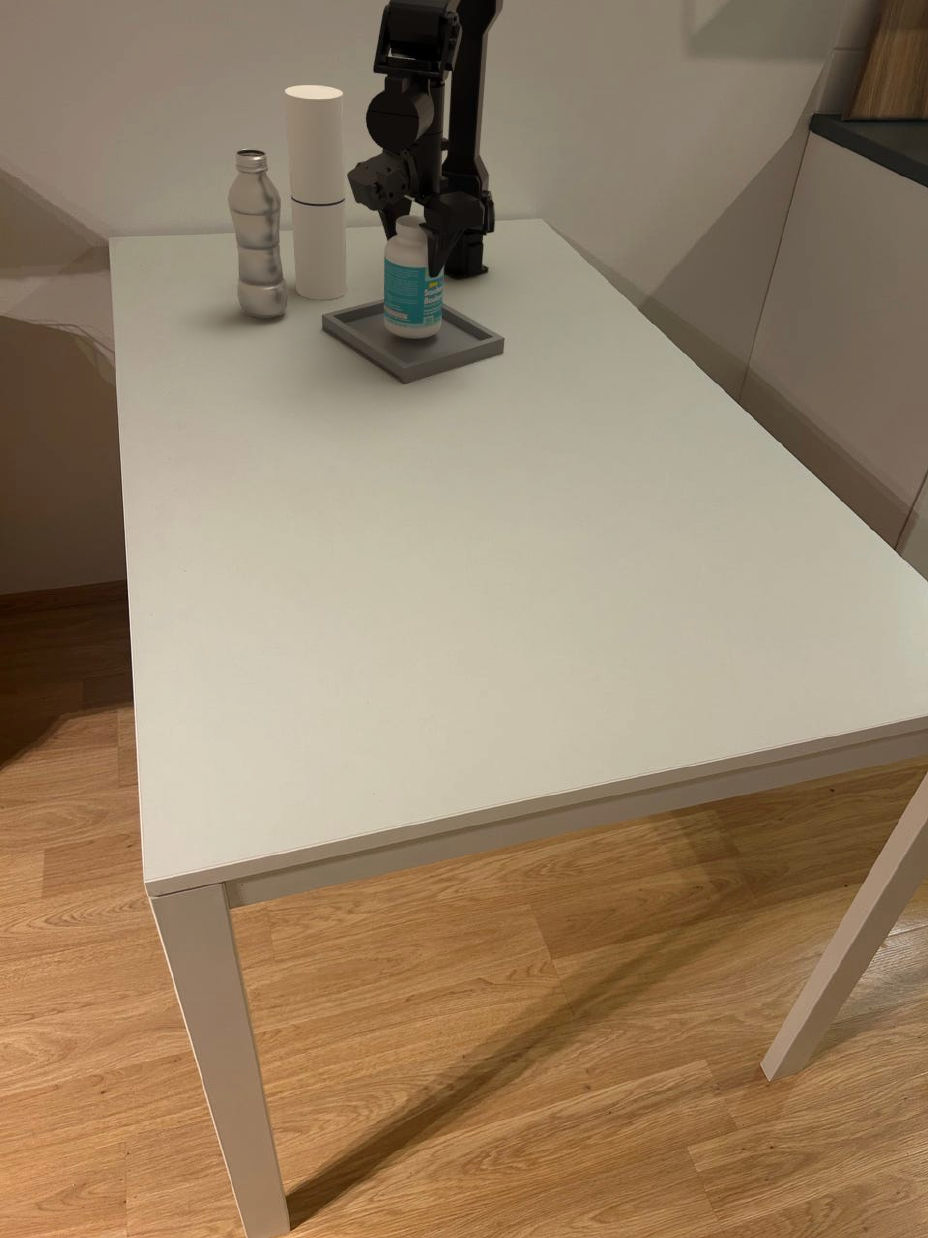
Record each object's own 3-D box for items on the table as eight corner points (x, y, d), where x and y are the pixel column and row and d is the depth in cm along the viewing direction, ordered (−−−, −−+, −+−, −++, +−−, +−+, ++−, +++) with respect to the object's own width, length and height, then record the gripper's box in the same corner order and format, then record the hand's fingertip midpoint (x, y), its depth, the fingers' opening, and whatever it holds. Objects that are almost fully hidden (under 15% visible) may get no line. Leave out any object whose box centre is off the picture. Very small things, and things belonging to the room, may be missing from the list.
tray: (322, 329, 123) (321, 314, 121) (419, 303, 131) (419, 289, 129) (404, 383, 113) (404, 368, 111) (503, 352, 121) (504, 337, 119)
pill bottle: (433, 345, 117) (437, 235, 108) (376, 336, 118) (376, 227, 109) (446, 321, 123) (452, 215, 114) (392, 312, 124) (393, 207, 115)
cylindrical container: (306, 302, 129) (296, 100, 112) (289, 283, 133) (276, 86, 117) (354, 295, 131) (351, 97, 115) (336, 277, 136) (330, 83, 119)
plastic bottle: (267, 328, 122) (254, 164, 108) (228, 314, 124) (211, 152, 111) (299, 313, 126) (290, 153, 113) (261, 299, 128) (248, 141, 115)
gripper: (311, 115, 106) (317, 253, 116) (410, 160, 96) (407, 307, 106) (391, 105, 112) (390, 237, 122) (492, 146, 101) (481, 287, 112)
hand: (414, 266), depth 115 cm, fingers closed on pill bottle, 7 cm apart
